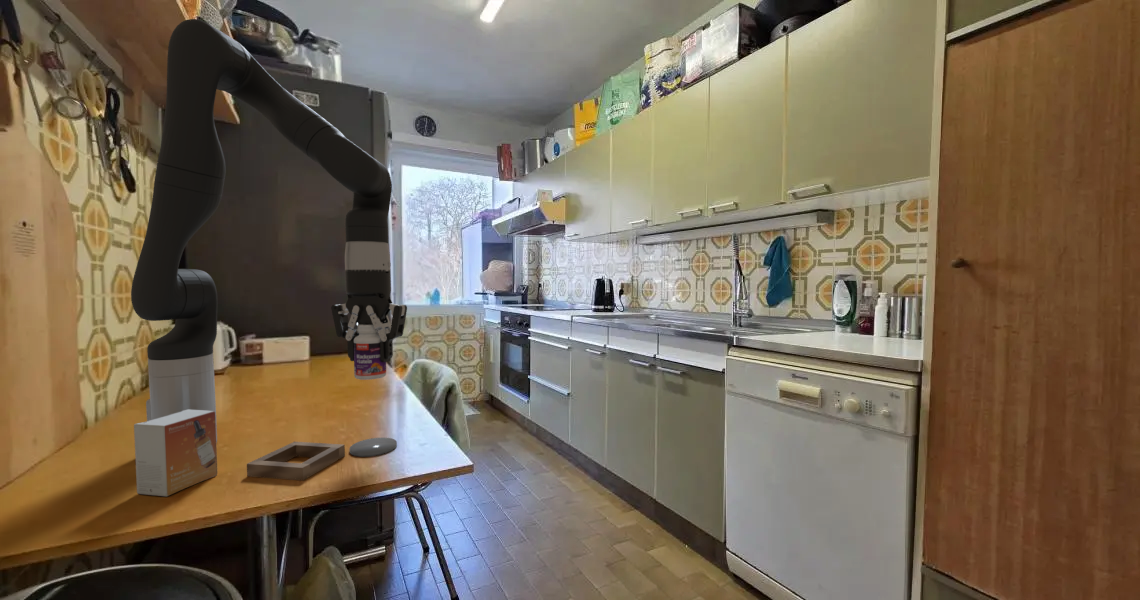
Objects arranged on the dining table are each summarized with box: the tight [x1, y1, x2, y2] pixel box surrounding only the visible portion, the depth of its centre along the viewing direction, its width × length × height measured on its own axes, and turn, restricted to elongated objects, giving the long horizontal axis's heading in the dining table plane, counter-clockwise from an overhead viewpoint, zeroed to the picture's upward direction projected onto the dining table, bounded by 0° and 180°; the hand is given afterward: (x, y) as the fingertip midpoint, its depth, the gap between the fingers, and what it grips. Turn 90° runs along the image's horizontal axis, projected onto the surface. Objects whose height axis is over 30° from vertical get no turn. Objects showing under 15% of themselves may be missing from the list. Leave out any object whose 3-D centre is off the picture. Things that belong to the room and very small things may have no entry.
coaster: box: [349, 437, 398, 458], centre depth 85 cm, size 8×8×1 cm
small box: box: [133, 409, 218, 497], centre depth 70 cm, size 8×6×10 cm
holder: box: [246, 441, 346, 481], centre depth 77 cm, size 10×10×2 cm
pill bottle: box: [353, 324, 387, 381], centre depth 84 cm, size 5×5×10 cm
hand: (370, 360), depth 84 cm, fingers closed on pill bottle, 5 cm apart
